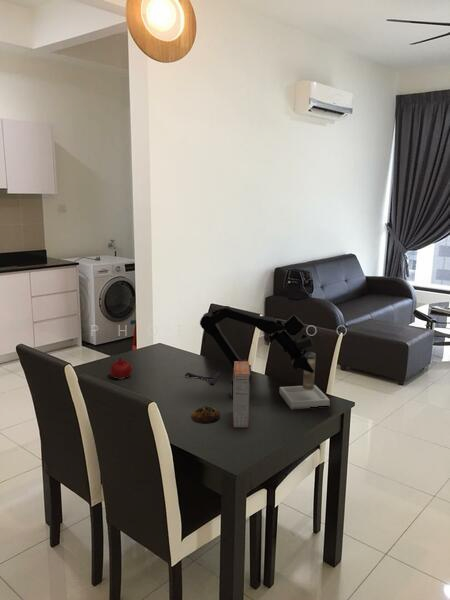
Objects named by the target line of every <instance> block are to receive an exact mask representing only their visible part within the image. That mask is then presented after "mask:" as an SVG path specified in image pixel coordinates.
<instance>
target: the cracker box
mask: <svg viewBox="0 0 450 600" xmlns="http://www.w3.org/2000/svg"><path fill="white" fill-rule="evenodd" d="M249 365H250V361H248V360H247V361H234V370H233V374H234V375H233V374H232V376H233V400H232V425H233V426H232V427H233V429H234V428H236V429H237V428H239V429H240V428H241V429H242V428H244V429H245V428H246V429H249V424H250V423H249V421H250V420H249V419H250V418H249V417H250V379H251V377H250V372H249Z"/></svg>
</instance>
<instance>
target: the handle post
mask: <svg viewBox="0 0 450 600" xmlns="http://www.w3.org/2000/svg"><path fill="white" fill-rule="evenodd" d="M305 355H306V356H307V357H308V360H307V361H308V363H309V364H310V366H311V367H312V369H313V370H314V372H313V373H310V372H308V371H306V370H303V379H302V386H303V388H304V389H307V390H312V389H314V385H315V373H316V360H317V359H316V356H317V354H316V353H315V352H312V351H306V353H305Z"/></svg>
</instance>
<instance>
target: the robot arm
mask: <svg viewBox="0 0 450 600" xmlns="http://www.w3.org/2000/svg"><path fill="white" fill-rule="evenodd" d="M225 319H231V320H234V321H237V322H241V323H244V324H246V325H250V326H253V327H254V328H256V329H258V330H260V331H261V332H263V333H265V334H267V335H268V336H269V337H268V338H269V341H268V342H269V343H272V342H273V341H274V342H276V343H277V345H278V346H279V347H280V348H281V349H282V352H283V353H286V355H288V356H289V359H291V362H292V363H291V364H292V365H291V366H292V367H293V369H295V370H297V369H301V370H303V371H304V370H306V371H308V372H310V373H313V372H314V370H313V369H312V367H311V366H310V364H309V363H308V361H307V360H308V357H307V356H306V355H305V353H306V352H307V349H306V348H309V347H310V348H311V347H312V346H314V343H313V339H312V338H311V336H310V335H307V334H306V333H303V334H301V335H300V338H299V339H296V338H294V337H293V338H292V336H296V335H297V334H299V333H300V332H301V331H302V330H303V329H304V328H306V325H305V323H304V321H302V320H301V318H299V317H298V316H296V315H295V314H291V316H290V317H289V318H287V320H286V321H283V320H278V319H276V318H275V317H273V316H267V315H256V314H253V313H249V312H246V311H243V310H240V309H237V308H233V307H231V306H230V305H225V306H223V307H221V308H219V309H216V310H213V311H212V312H206V313H204V314H203V315H202V316H201V318H200V320H199V325H200V327H201V328H202V329H203V330H204V332H205V333H207V334H208V335H209V336H211V337H212V339H214V341H215V343H216V344H217V345H218V347H219V348H220V350H221V351H222V353H223V354H224V356H225V358H227V360H228V361H229V363H230V364H231V367H232V370H233V371H234V361H247V362H248V359H246V358H245V359H242V358H240V356H239V355H238V353H237V352H236V351H235V349H234V347H233V346H232V345H231V344H230V341H229V340H228V339H227V337H226V336H225V335H224V333H223V332H222V330H221V327H220V324H219V323H220V322H221V321H222V320H225ZM249 372H250V378H251V375H252V365H251V364H249ZM233 375H234V373H233V374H232V377H231V381H230V393H229V396H230V399H231V401H233Z"/></svg>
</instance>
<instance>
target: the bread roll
mask: <svg viewBox="0 0 450 600" xmlns="http://www.w3.org/2000/svg"><path fill="white" fill-rule="evenodd" d="M190 415H191V418H192V419H193V421H194V422H198V423H202V424H212V423H216V422H218V420H219V419H220V418H221V413H220V410H218V409H217V408H215V407H211V406H209V405H208V406H207V405H206V406H201V407H198V408H196V409H194V410H193V411H192V413H191V414H190Z"/></svg>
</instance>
